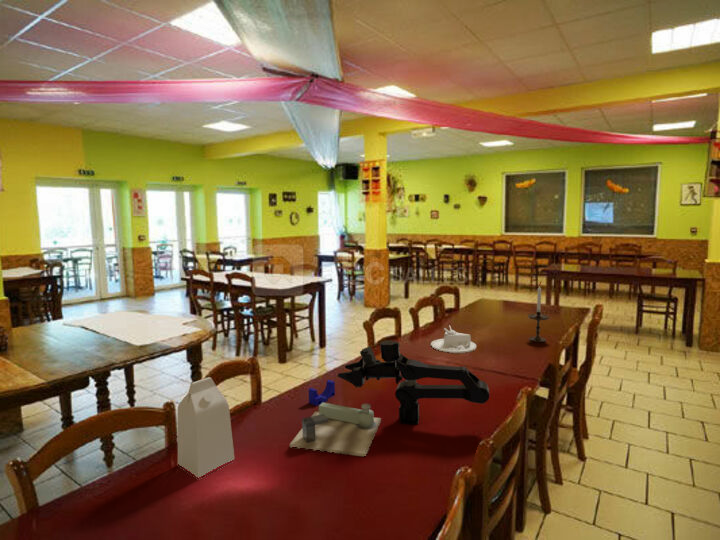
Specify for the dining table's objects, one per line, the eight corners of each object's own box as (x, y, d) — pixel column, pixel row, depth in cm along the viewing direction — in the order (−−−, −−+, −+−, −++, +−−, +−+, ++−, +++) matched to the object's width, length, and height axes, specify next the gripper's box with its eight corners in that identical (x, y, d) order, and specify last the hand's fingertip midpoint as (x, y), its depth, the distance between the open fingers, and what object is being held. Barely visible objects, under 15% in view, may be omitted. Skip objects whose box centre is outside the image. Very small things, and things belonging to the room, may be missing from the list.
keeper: (324, 432, 147) (323, 413, 146) (328, 437, 143) (327, 418, 142) (302, 437, 144) (302, 418, 143) (306, 442, 140) (306, 423, 139)
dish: (428, 351, 235) (428, 331, 234) (434, 339, 259) (434, 320, 257) (475, 355, 228) (475, 334, 227) (476, 342, 252) (477, 323, 250)
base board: (380, 420, 156) (380, 417, 156) (365, 456, 133) (365, 453, 133) (315, 414, 163) (315, 410, 162) (289, 447, 139) (289, 443, 139)
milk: (213, 448, 139) (208, 370, 136) (234, 461, 132) (230, 378, 129) (177, 465, 130) (171, 382, 127) (198, 479, 123) (192, 391, 120)
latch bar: (376, 421, 153) (375, 403, 152) (370, 428, 148) (370, 410, 147) (324, 411, 161) (324, 394, 160) (317, 417, 156) (317, 400, 156)
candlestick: (549, 339, 254) (551, 280, 249) (545, 344, 245) (548, 282, 240) (529, 336, 260) (531, 278, 255) (525, 341, 250) (527, 281, 246)
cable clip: (317, 406, 169) (316, 391, 169) (309, 403, 172) (308, 389, 171) (337, 396, 179) (337, 382, 178) (329, 393, 182) (329, 379, 181)
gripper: (385, 341, 165) (346, 342, 169) (375, 356, 147) (331, 357, 151) (388, 369, 166) (349, 370, 170) (378, 387, 148) (334, 388, 152)
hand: (341, 370), depth 161 cm, fingers open, 9 cm apart
